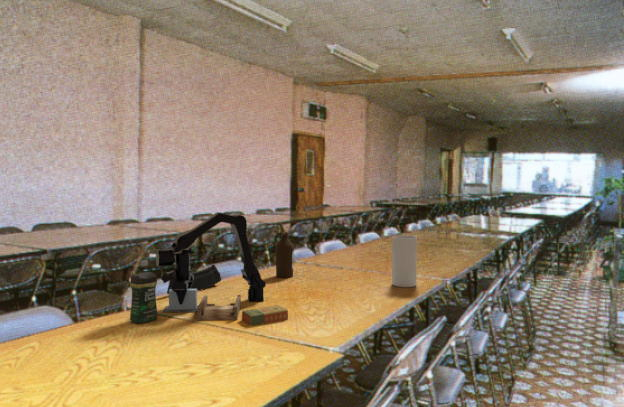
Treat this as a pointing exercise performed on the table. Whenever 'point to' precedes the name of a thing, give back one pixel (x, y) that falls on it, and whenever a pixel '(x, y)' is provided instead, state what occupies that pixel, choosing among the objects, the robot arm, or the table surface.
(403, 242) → the cylinder vase
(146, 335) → the table surface
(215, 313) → the offcut stack
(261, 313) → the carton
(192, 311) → the mat
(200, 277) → the magazine
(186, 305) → the block
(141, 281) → the coffee jar
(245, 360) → the table surface
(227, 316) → the rack
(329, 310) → the table surface
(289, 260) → the olive oil
